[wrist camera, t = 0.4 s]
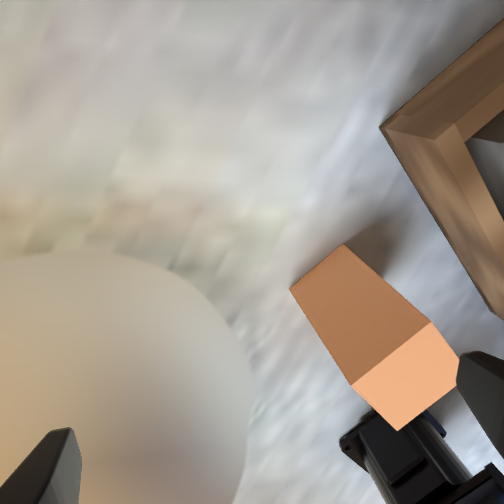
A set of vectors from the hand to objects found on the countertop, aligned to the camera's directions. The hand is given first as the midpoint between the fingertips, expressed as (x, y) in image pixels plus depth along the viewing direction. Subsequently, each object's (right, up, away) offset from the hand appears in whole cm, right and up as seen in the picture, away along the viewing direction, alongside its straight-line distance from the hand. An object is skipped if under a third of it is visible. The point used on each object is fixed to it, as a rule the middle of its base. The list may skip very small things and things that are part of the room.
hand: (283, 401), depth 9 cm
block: (+4, +1, +15) cm, 15 cm away
